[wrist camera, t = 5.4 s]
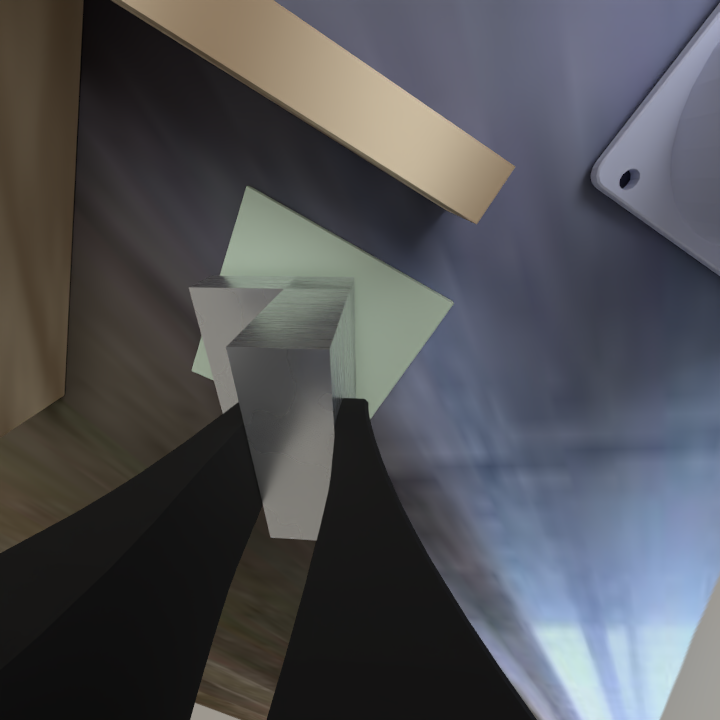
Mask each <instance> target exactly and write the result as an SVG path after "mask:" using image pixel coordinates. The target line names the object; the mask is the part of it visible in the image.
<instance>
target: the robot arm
mask: <svg viewBox="0 0 720 720" xmlns="http://www.w3.org/2000/svg"><path fill="white" fill-rule="evenodd" d="M627 170H629V172H630V174H631V177H630V181H629V182H628V184H627V185H626V186H625V187H624V188H622V189H621V187H620V185H619V183H620V178H621V177H622V175H623V174H624V173H625V172H626V171H627ZM591 182H592V184H593V185H594V186H595V188H597V189H598V190H600V191H601V192H602V193H604V194H605V195H607V196H608V197H609V198H611V199H612V200H614V201H615V202H616V203H618V204H619V205H621V206H622V207H623V208H625V209H626V210H628V211H629V212H630V213H632V214H633V215H635V216H636V217H637V218H639V219H640V220H642V221H643V222H644V223H646V224H647V225H649V226H650V227H651V228H653V229H654V230H656V231H657V232H658V233H660V234H661V235H663V236H664V237H665V238H667V239H668V240H670V241H671V242H672V243H674V244H675V245H677V246H678V247H679V248H681V249H682V250H684V251H685V252H686V253H688V254H689V255H691V256H692V257H693V258H695V259H696V260H698V261H699V262H701V263H702V264H703V265H705V266H706V267H708V268H709V269H710V270H712V271H713V272H715V273H716V274H717V275H719V276H720V3H719V4H718V6H717V7H716V8H715V9H714V11H713V12H712V13H711V15H710V16H709V17H708V18H707V20H706V21H705V22H704V24H703V25H702V26H701V27H700V29H699V30H698V31H697V33H696V34H695V35H694V36H693V38H692V39H691V40H690V42H689V43H688V44H687V45H686V47H685V48H684V49H683V51H682V52H681V53H680V54H679V56H678V57H677V58H676V60H675V61H674V62H673V63H672V65H671V66H670V67H669V69H668V70H667V71H666V72H665V74H664V75H663V76H662V78H661V79H660V80H659V81H658V83H657V84H656V85H655V87H654V88H653V89H652V90H651V92H650V93H649V94H648V95H647V97H646V98H645V99H644V101H643V102H642V103H641V104H640V106H639V107H638V108H637V110H636V111H635V112H634V113H633V115H632V116H631V117H630V119H629V120H628V121H627V122H626V124H625V125H624V126H623V128H622V129H621V130H620V131H619V133H618V134H617V135H616V137H615V138H614V139H613V140H612V142H611V143H610V144H609V146H608V147H607V148H606V149H605V151H604V152H603V153H602V155H601V156H600V157H599V158H598V160H597V161H596V163H595V164H594V166H593V168H592V172H591ZM368 408H369V402H368V401H366V400H365V399H359V398H343V399H342V402H341V405H340V408H339V411H338V415H337V418H336V426H335V436H334V447H333V457H332V468H331V477H330V483H329V490H328V495H327V499H326V503H325V508H324V512H323V516H322V520H321V525H320V529H319V533H318V537H317V541H316V545H315V549H314V553H313V557H312V560H311V564H310V568H309V572H308V576H307V580H306V584H305V588H304V591H303V595H302V598H301V602H300V606H299V609H298V613H297V616H296V620H295V624H294V627H293V631H292V635H291V638H290V642H289V645H288V649H287V653H286V656H285V660H284V663H283V667H282V670H281V673H280V677H279V680H278V683H277V687H276V690H275V693H274V697H273V700H272V704H271V707H270V710H269V714H268V717H267V720H537V719H536V718H535V717H534V715H533V714H532V713H531V711H530V710H529V708H528V707H527V705H526V704H525V703H524V701H523V700H522V698H521V697H520V695H519V694H518V693H517V691H516V690H515V688H514V687H513V685H512V684H511V683H510V681H509V680H508V678H507V677H506V675H505V674H504V673H503V671H502V670H501V668H500V667H499V665H498V664H497V662H496V661H495V659H494V658H493V656H492V655H491V653H490V652H489V650H488V649H487V647H486V646H485V644H484V643H483V641H482V640H481V638H480V637H479V635H478V634H477V632H476V631H475V629H474V628H473V626H472V625H471V623H470V622H469V620H468V619H467V617H466V616H465V614H464V613H463V611H462V609H461V608H460V606H459V604H458V603H457V601H456V600H455V598H454V596H453V595H452V593H451V591H450V590H449V588H448V587H447V585H446V583H445V582H444V580H443V578H442V577H441V575H440V574H439V572H438V570H437V569H436V567H435V565H434V564H433V562H432V561H431V559H430V557H429V555H428V554H427V552H426V550H425V548H424V546H423V545H422V543H421V541H420V539H419V537H418V536H417V534H416V532H415V530H414V528H413V526H412V524H411V522H410V520H409V518H408V516H407V515H406V513H405V511H404V509H403V507H402V504H401V502H400V500H399V498H398V496H397V494H396V492H395V489H394V487H393V485H392V483H391V480H390V478H389V476H388V473H387V471H386V468H385V466H384V463H383V461H382V458H381V455H380V452H379V449H378V446H377V443H376V440H375V437H374V434H373V430H372V426H371V422H370V417H369V409H368ZM262 505H263V503H262V499H261V494H260V490H259V486H258V482H257V477H256V473H255V469H254V465H253V460H252V456H251V452H250V448H249V443H248V439H247V435H246V431H245V426H244V422H243V418H242V413H241V409H240V405H239V402H238V403H237V404H235V405H234V406H232V407H231V408H230V409H229V410H227V411H226V412H225V413H223V414H222V415H221V416H219V417H218V418H217V419H215V420H214V421H213V422H211V423H210V424H209V425H207V426H206V427H205V428H203V429H202V430H201V431H199V432H198V433H197V434H195V435H194V436H193V437H191V438H190V439H189V440H187V441H186V442H185V443H183V444H182V445H180V446H179V447H178V448H176V449H175V450H173V451H172V452H170V453H169V454H167V455H166V456H164V457H163V458H162V459H160V460H159V461H157V462H156V463H154V464H153V465H151V466H150V467H149V468H147V469H146V470H144V471H143V472H141V473H140V474H138V475H137V476H135V477H134V478H132V479H131V480H129V481H127V482H126V483H124V484H123V485H121V486H119V487H118V488H116V489H115V490H113V491H111V492H110V493H108V494H106V495H105V496H103V497H101V498H100V499H98V500H96V501H95V502H93V503H91V504H90V505H88V506H86V507H85V508H83V509H81V510H79V511H78V512H76V513H74V514H72V515H71V516H69V517H67V518H65V519H63V520H61V521H60V522H58V523H56V524H54V525H52V526H50V527H48V528H47V529H45V530H43V531H41V532H39V533H37V534H35V535H34V536H32V537H30V538H28V539H26V540H24V541H22V542H21V543H19V544H17V545H15V546H13V547H11V548H9V549H8V550H6V551H4V552H2V553H0V720H190V718H191V714H192V711H193V707H194V704H195V700H196V696H197V693H198V689H199V686H200V682H201V679H202V676H203V672H204V669H205V665H206V662H207V659H208V655H209V652H210V648H211V645H212V642H213V638H214V635H215V632H216V628H217V625H218V622H219V619H220V616H221V612H222V609H223V606H224V603H225V600H226V596H227V593H228V590H229V587H230V584H231V582H232V579H233V576H234V574H235V571H236V568H237V566H238V563H239V561H240V558H241V556H242V554H243V551H244V549H245V546H246V544H247V541H248V539H249V537H250V534H251V532H252V529H253V527H254V524H255V522H256V520H257V517H258V515H259V512H260V510H261V507H262Z"/></svg>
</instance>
